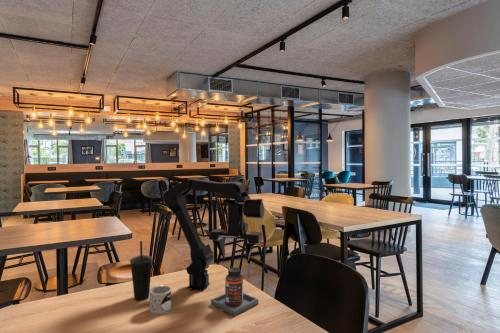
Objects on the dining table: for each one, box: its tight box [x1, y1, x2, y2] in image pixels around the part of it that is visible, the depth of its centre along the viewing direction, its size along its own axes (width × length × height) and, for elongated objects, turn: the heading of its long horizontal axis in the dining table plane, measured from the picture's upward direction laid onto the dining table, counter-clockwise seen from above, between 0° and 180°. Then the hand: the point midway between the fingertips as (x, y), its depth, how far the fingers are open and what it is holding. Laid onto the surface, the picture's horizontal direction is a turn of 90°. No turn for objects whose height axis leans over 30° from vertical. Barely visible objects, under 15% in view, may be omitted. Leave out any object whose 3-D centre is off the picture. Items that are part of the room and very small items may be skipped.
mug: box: [149, 285, 172, 316], centre depth 104 cm, size 10×7×7 cm
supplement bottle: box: [224, 266, 244, 306], centre depth 106 cm, size 6×6×11 cm
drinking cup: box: [129, 240, 154, 302], centre depth 111 cm, size 8×8×20 cm
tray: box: [210, 292, 259, 318], centre depth 106 cm, size 11×11×2 cm
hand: (235, 259), depth 116 cm, fingers open, 9 cm apart
